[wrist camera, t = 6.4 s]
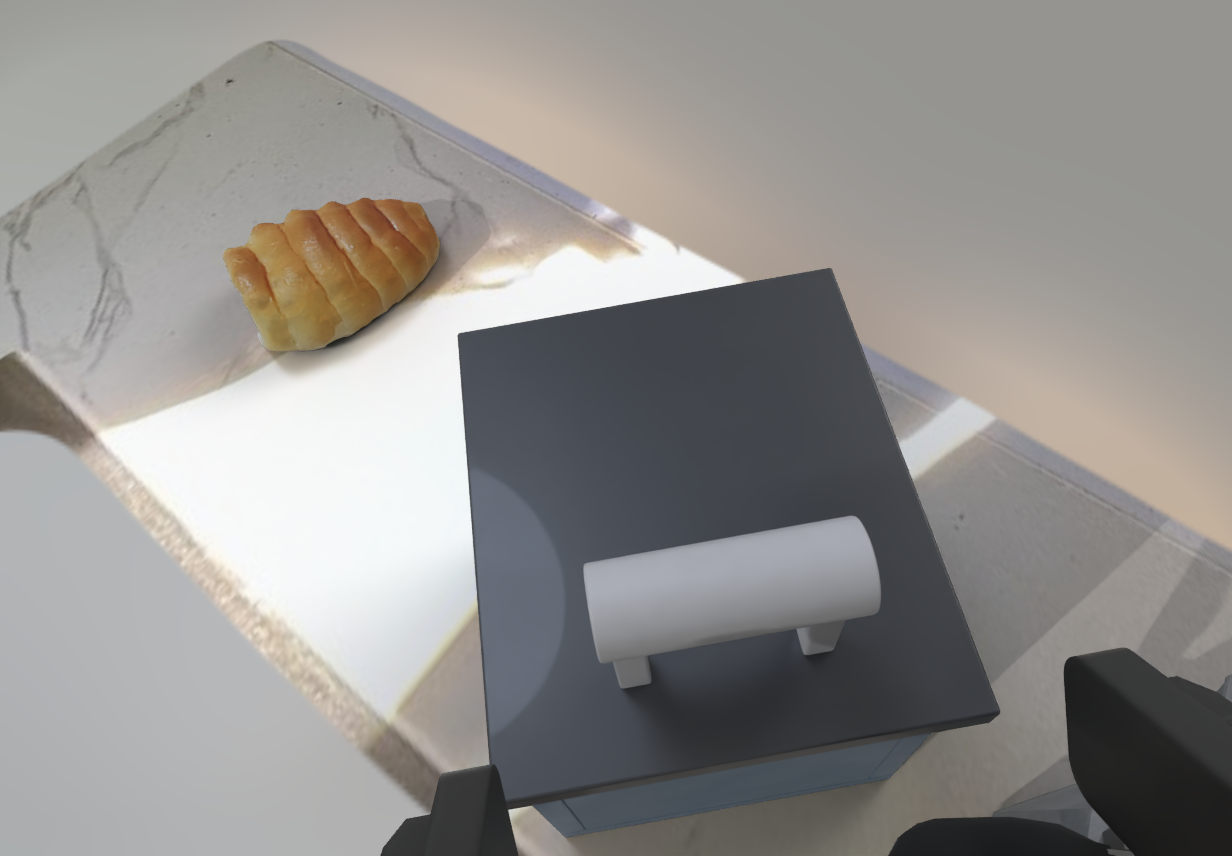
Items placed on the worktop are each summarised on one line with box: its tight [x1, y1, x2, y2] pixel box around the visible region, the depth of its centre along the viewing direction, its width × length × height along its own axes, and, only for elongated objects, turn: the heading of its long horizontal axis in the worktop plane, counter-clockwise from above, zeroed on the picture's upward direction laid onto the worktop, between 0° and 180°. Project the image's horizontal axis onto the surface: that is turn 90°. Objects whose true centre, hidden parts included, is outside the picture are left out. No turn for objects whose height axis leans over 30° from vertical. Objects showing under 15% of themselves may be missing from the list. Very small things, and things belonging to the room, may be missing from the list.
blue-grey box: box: [532, 733, 931, 837], centre depth 27 cm, size 12×11×11 cm
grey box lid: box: [458, 268, 1000, 810], centre depth 20 cm, size 12×11×6 cm
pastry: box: [223, 198, 440, 351], centre depth 40 cm, size 9×7×4 cm
